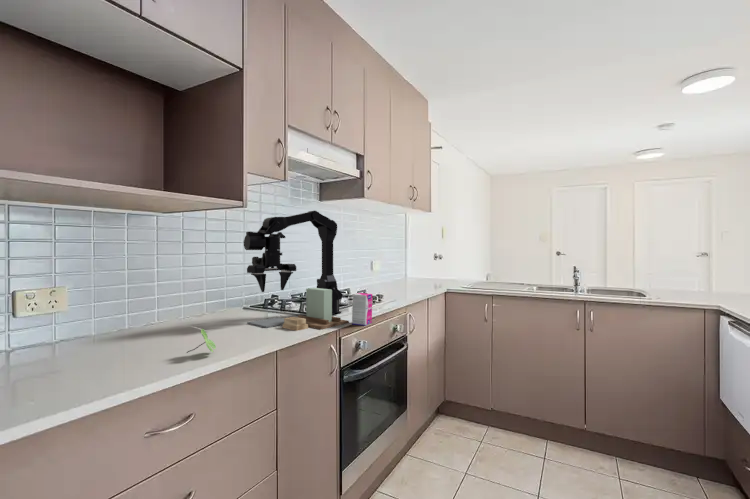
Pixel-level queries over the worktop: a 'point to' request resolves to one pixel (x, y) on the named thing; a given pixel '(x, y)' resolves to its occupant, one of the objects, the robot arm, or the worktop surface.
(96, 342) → the worktop surface
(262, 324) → the mat
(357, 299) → the supplement box
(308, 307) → the sage green block
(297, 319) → the offcut upper
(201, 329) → the seedling
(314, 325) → the rack
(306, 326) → the offcut lower
